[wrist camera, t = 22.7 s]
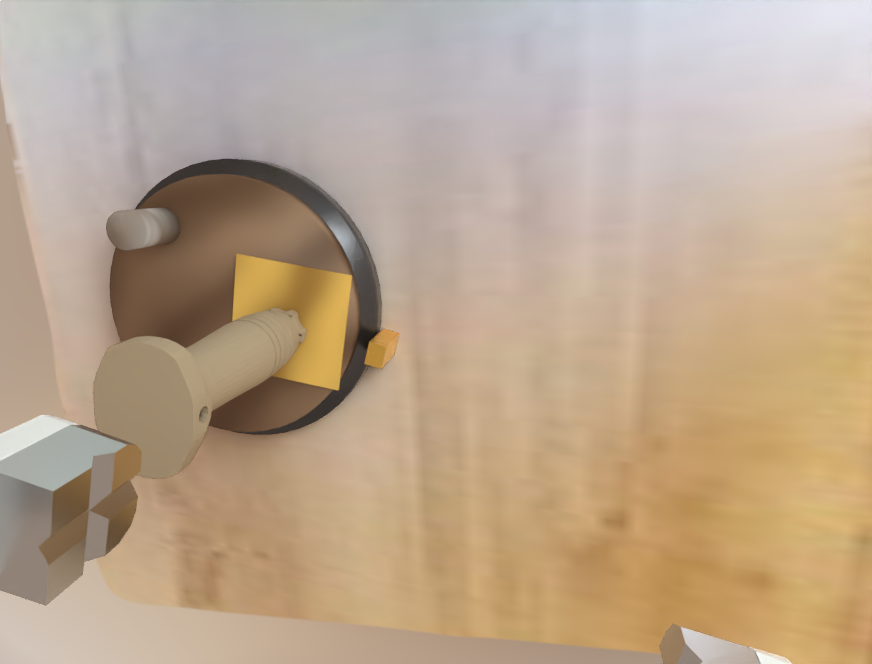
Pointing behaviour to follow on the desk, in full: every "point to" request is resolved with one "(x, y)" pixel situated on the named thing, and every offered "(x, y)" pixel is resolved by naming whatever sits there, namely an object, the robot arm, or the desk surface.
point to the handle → (186, 384)
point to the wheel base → (371, 341)
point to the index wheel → (238, 284)
